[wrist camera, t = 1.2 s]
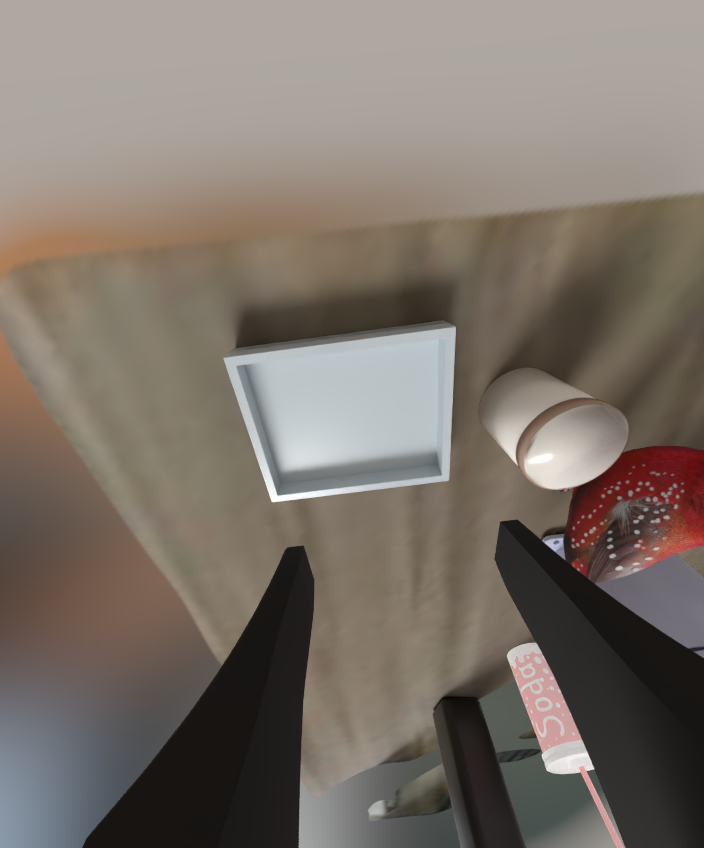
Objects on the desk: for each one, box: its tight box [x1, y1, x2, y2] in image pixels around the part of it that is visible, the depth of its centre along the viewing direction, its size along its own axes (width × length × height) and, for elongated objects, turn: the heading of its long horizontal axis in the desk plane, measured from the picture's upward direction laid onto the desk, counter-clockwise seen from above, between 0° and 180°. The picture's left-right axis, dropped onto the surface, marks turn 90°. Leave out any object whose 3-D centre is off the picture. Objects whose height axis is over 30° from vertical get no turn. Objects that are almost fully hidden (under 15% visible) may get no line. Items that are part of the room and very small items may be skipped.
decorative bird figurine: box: [560, 446, 704, 583], centre depth 19 cm, size 3×18×10 cm, turn 170°
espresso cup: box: [479, 367, 629, 490], centre depth 17 cm, size 5×5×6 cm
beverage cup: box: [507, 643, 624, 848], centre depth 29 cm, size 6×6×14 cm
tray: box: [224, 320, 456, 502], centre depth 18 cm, size 12×10×2 cm
